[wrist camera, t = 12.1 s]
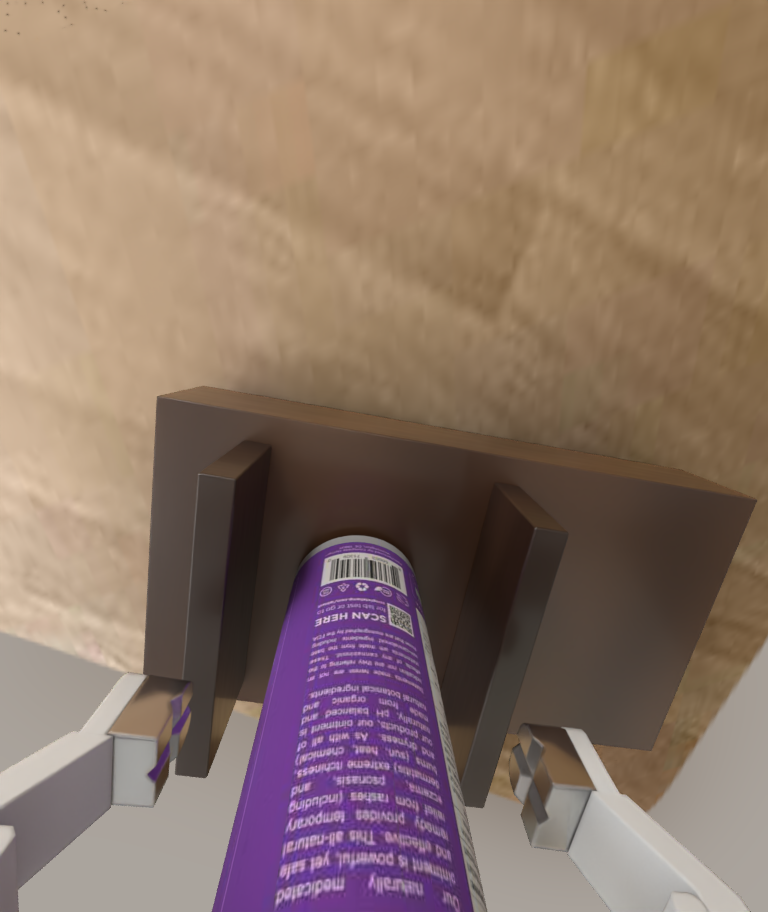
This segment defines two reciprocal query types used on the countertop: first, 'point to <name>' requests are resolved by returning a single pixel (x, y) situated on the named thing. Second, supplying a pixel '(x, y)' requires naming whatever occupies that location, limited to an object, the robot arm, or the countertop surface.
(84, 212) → the countertop surface
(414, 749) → the container
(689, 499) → the brown two-slot stand
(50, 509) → the countertop surface
